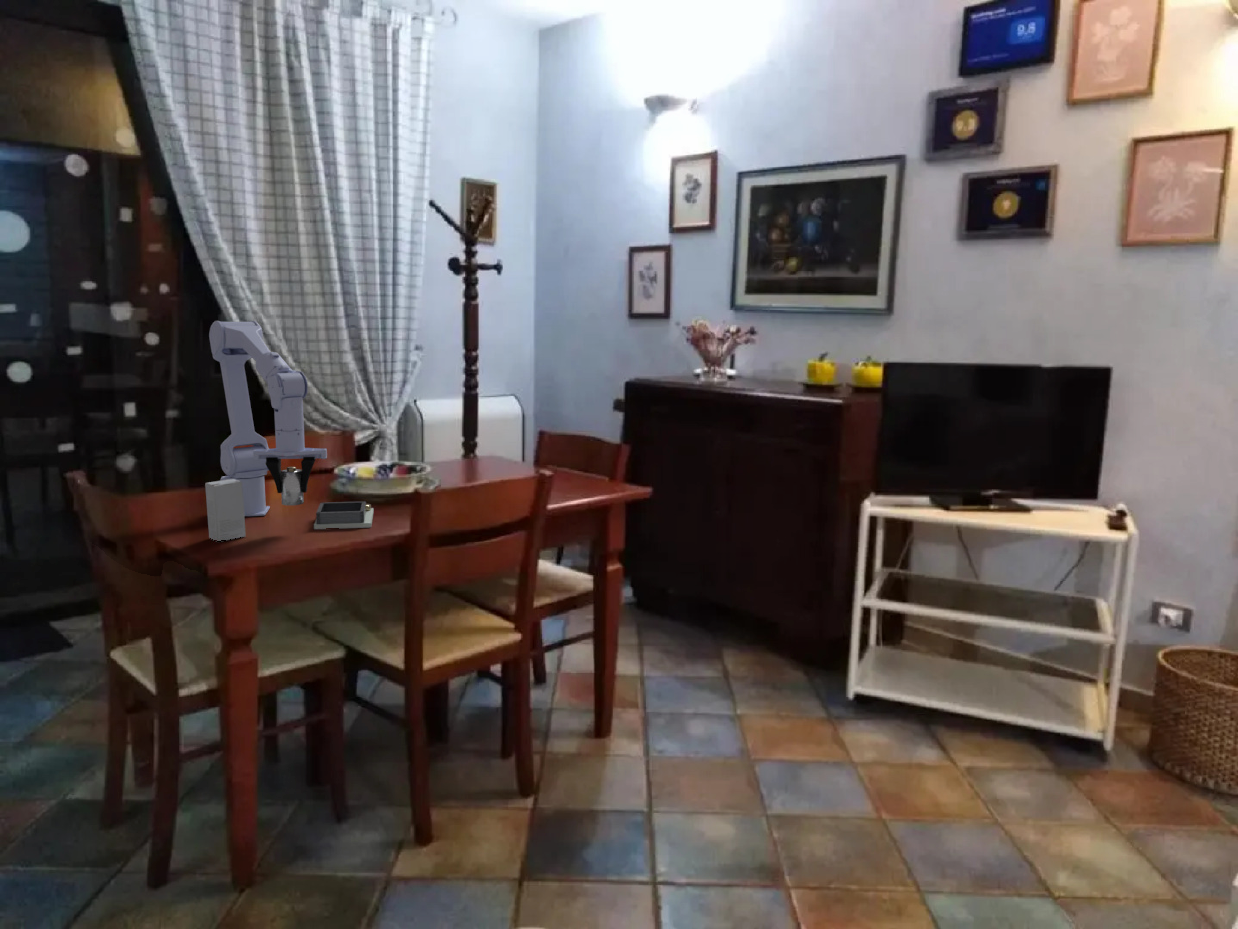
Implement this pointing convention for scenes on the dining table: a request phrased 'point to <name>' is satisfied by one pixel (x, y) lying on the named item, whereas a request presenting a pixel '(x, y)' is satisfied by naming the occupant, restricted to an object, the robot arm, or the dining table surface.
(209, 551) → the dining table surface
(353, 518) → the box
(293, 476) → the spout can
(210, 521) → the skincare box
